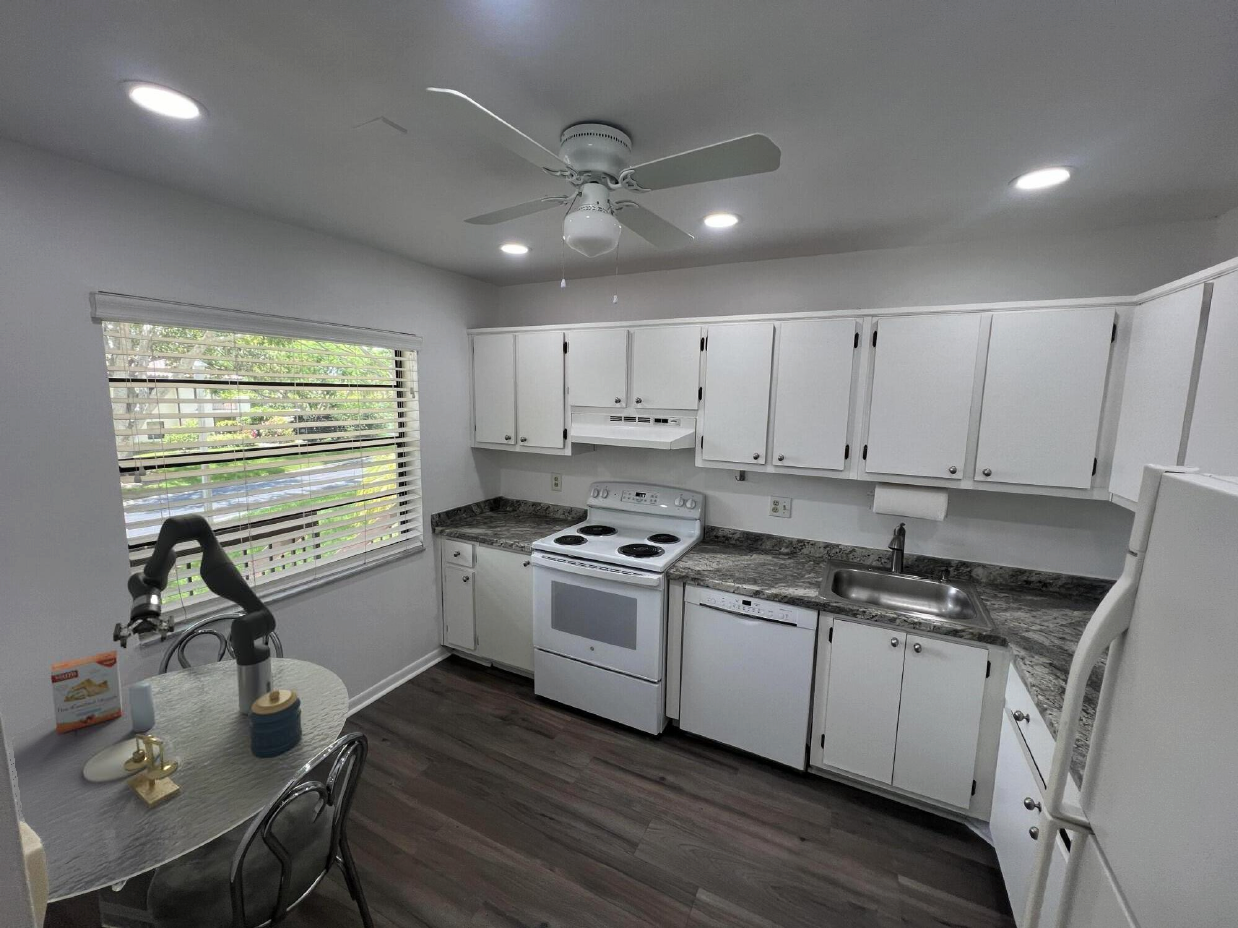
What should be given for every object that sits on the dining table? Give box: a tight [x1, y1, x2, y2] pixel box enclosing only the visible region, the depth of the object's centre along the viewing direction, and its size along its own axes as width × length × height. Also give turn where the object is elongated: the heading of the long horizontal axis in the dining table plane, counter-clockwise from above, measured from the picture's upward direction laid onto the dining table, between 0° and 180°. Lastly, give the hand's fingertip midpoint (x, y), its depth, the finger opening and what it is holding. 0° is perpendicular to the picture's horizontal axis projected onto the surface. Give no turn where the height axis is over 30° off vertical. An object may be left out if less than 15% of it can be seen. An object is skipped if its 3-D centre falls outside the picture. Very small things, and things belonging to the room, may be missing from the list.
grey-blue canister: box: [128, 680, 156, 733], centre depth 154 cm, size 5×5×14 cm
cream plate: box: [82, 736, 164, 784], centre depth 141 cm, size 16×16×2 cm
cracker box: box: [50, 650, 123, 735], centre depth 154 cm, size 14×6×21 cm, turn 133°
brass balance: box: [124, 733, 180, 810], centre depth 131 cm, size 22×6×17 cm, turn 61°
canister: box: [248, 689, 303, 759], centre depth 149 cm, size 13×13×18 cm
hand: (143, 642), depth 155 cm, fingers open, 8 cm apart
